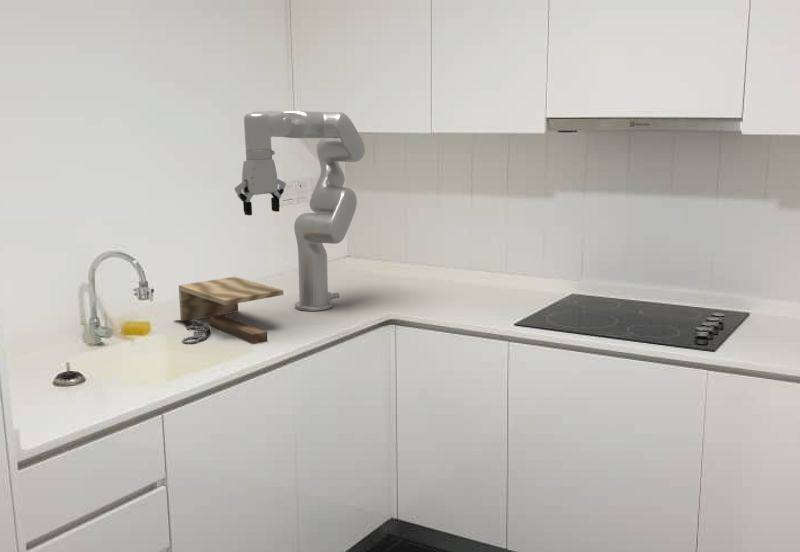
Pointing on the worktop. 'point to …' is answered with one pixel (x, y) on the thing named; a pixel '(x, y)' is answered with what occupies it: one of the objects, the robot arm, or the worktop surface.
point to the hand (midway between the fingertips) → (262, 213)
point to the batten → (238, 329)
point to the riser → (220, 296)
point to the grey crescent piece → (196, 331)
